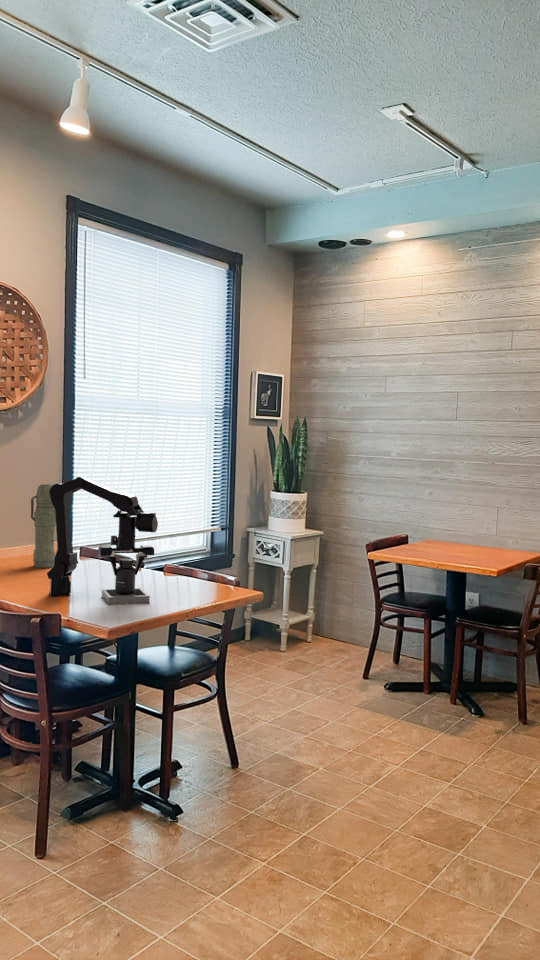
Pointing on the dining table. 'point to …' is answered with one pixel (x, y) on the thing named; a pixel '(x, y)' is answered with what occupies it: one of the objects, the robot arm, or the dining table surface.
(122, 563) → the supplement bottle
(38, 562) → the thermos
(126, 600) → the tray
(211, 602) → the dining table surface
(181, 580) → the dining table surface
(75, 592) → the dining table surface
